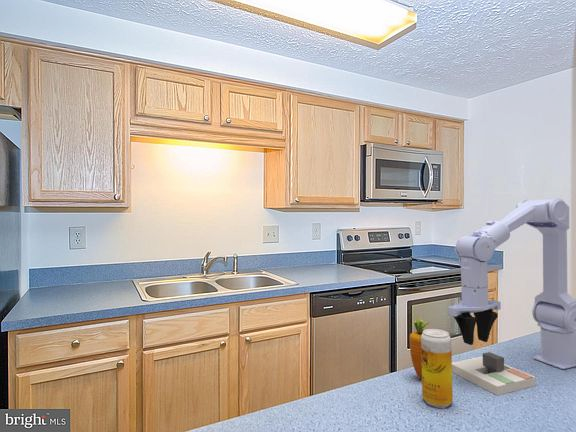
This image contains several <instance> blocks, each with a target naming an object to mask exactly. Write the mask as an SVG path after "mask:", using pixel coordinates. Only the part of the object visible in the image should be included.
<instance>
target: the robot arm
mask: <svg viewBox="0 0 576 432" xmlns="http://www.w3.org/2000/svg"><path fill="white" fill-rule="evenodd" d="M525 224H526V225H528V226H529V227H532V228H534V229H536V230H537V231H539V233H541V235H542V280H543V281H542V282H543V283H542V284H543V286H542V291H541V293H539V294H537V295H535V296H534V303H533V306H532V310H531V314H532V317H533V320H534V321H535V322H536V323H537V327H539V328H540V355H535V356H533V357H532V358H533V360H537V361H539V362H543V364H548V365H550V366H553V367H555V368H557V369H562V370H566V369H570V368H575V367H576V298H574V297H573V296H572V295H570V294H569V293H568V231H567V230H569V229H570V206H569V204H567V203H566V201H564V199H562V198H561V197H559V198H558V197H557V198H552V199H551V198H549V199H548V198H547V199H524V200H521V201H520V202H519V203H517V204H516V205H515V209H513V210H512V211H511V212H510V213H508V214H507V215H506V216H504V217H503V218H502V219H501V220H487V221H486V222H485V225H484V226H482V227H480V228H479V229H478V230H477V229H476V230H474V231H473V232H472V234H470V235H464V236H462V237H460V238H459V239H458V240H457V242H456V245H455V247H454V253H455V255H456V256H457V258H458V264H459V266H460V281H461V285H460V286H461V291H460V292H461V300H459V303H456V304H453V305H448V307H447V310H448V312H447V313H448V315H449V316H451V317H453V318H454V320H455V321H456V323H457V325H458V328H459V330H460V333H461V336H462V339H463V344H466V345H469V346H472V345H474V341H475V340H474V339H475V327H476V331H477V332H476V334H477V339H478V341H481V342H484V343H487V342H488V341H489V337H490V334H491V330H492V327H493V325H494V323H495V321H496V320H497V318H498V313H497V312H495V311H494V310H496V311H499V310H501V309H502V307H501V306H502V305H501V301H499V300H493V299H492V300H489V285H488V284H489V281H488V279H489V278H488V274H489V273H488V261H489V260H491V258H492V257H493V254H494V251H495V250H496V249H497V248H498V247H500V246H501V245H503V244H504V243H506V242H507V241H508V240H509V239H510V237H511V232H513V231H515V230H516V229H518V228H520V227H522V226H524V225H525ZM472 314H473V315H474V316H472Z"/></svg>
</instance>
